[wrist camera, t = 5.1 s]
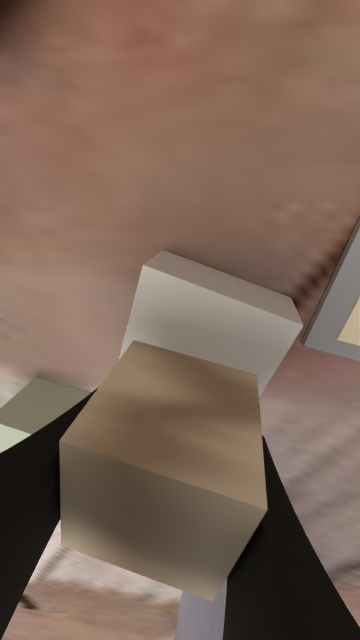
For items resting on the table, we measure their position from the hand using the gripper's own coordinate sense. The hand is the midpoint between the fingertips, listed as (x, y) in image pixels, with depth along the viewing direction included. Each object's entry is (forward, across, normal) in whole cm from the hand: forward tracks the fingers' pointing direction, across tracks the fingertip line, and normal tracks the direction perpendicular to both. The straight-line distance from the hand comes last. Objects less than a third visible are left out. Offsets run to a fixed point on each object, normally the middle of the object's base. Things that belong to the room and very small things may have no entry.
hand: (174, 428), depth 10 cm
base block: (+9, 0, 0) cm, 9 cm away
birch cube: (+2, 0, 0) cm, 2 cm away
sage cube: (+8, +10, +11) cm, 17 cm away
